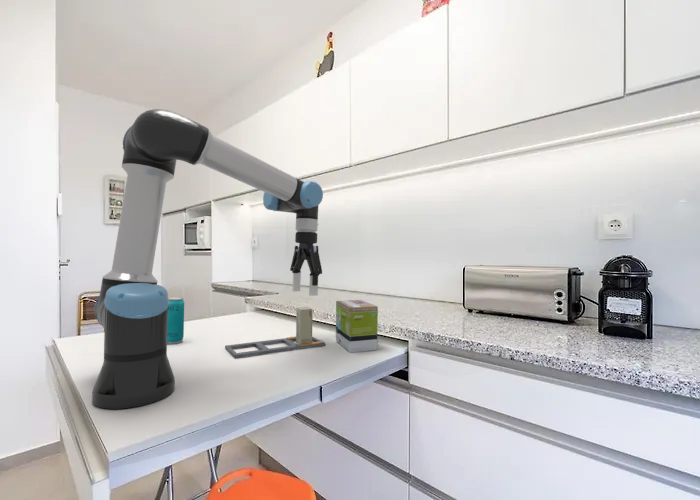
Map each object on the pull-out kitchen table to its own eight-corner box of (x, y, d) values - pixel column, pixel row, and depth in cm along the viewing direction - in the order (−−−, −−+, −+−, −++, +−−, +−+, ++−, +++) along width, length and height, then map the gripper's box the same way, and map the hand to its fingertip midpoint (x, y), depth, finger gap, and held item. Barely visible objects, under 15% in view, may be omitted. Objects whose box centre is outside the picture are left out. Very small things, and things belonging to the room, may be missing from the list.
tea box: (334, 341, 124) (335, 299, 124) (360, 339, 127) (361, 299, 127) (349, 353, 110) (350, 306, 110) (378, 350, 113) (379, 305, 113)
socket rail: (325, 345, 118) (325, 342, 118) (234, 358, 101) (234, 354, 101) (309, 337, 128) (309, 334, 128) (225, 348, 111) (225, 345, 111)
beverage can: (166, 340, 120) (167, 297, 120) (184, 339, 121) (185, 296, 122) (162, 345, 114) (163, 299, 114) (181, 344, 116) (183, 299, 116)
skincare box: (312, 345, 118) (313, 309, 118) (300, 346, 116) (300, 309, 116) (307, 340, 124) (308, 306, 124) (295, 341, 122) (296, 306, 122)
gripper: (334, 231, 112) (331, 297, 111) (301, 233, 133) (299, 289, 132) (313, 229, 108) (310, 297, 107) (282, 232, 129) (280, 290, 128)
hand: (304, 293), depth 120 cm, fingers open, 13 cm apart
